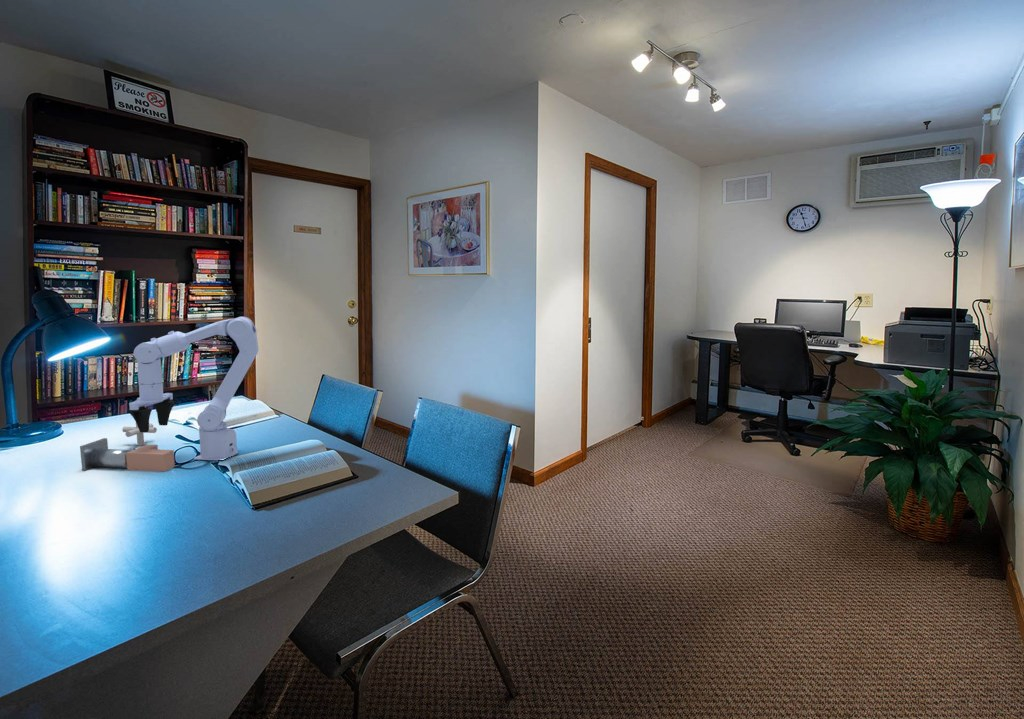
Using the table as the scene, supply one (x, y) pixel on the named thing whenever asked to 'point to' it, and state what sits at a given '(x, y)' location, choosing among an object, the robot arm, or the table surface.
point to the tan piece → (150, 459)
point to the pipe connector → (138, 433)
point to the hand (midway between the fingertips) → (154, 428)
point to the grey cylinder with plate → (102, 455)
